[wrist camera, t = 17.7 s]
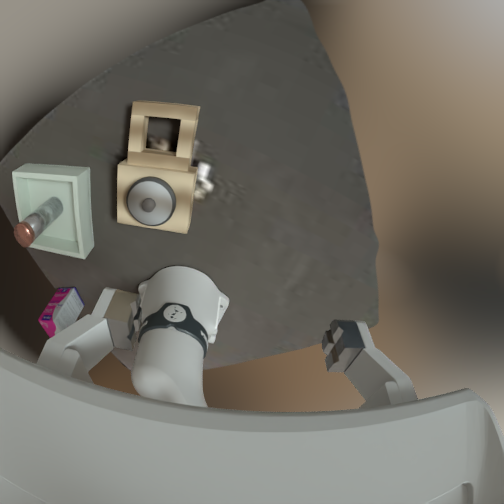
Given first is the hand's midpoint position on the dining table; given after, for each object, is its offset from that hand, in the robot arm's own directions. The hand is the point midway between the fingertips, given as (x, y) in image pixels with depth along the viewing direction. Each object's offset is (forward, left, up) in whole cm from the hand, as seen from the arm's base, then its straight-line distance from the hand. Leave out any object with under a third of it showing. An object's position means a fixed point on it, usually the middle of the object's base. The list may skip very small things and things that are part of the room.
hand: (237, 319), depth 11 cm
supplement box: (-39, +34, -34) cm, 62 cm away
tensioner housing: (-5, +12, -34) cm, 36 cm away
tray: (-15, +33, -34) cm, 50 cm away
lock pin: (-15, +33, -33) cm, 49 cm away
